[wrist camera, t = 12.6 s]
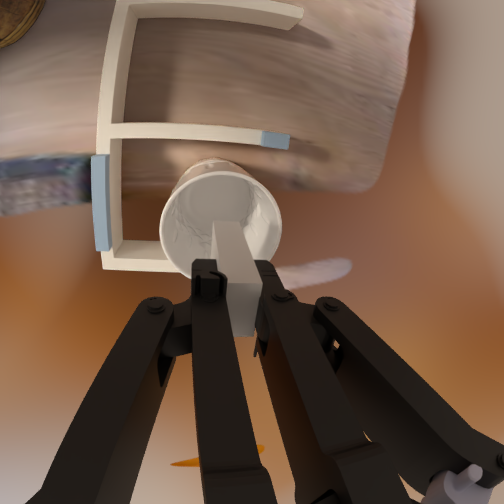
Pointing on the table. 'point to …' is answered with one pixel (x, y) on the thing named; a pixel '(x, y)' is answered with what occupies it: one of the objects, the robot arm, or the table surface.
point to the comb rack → (114, 129)
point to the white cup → (217, 213)
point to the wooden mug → (17, 18)
